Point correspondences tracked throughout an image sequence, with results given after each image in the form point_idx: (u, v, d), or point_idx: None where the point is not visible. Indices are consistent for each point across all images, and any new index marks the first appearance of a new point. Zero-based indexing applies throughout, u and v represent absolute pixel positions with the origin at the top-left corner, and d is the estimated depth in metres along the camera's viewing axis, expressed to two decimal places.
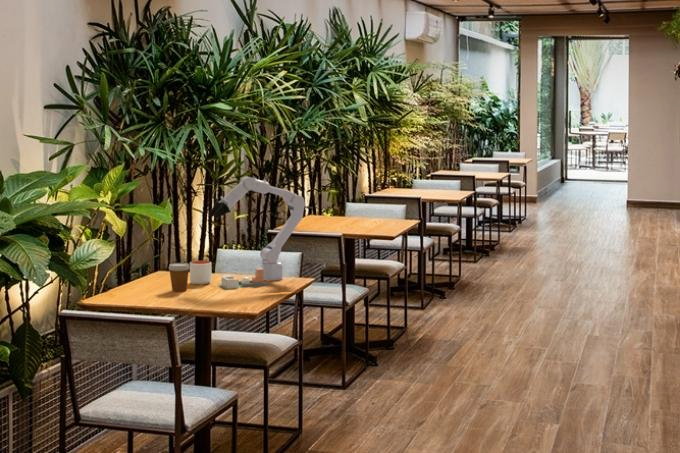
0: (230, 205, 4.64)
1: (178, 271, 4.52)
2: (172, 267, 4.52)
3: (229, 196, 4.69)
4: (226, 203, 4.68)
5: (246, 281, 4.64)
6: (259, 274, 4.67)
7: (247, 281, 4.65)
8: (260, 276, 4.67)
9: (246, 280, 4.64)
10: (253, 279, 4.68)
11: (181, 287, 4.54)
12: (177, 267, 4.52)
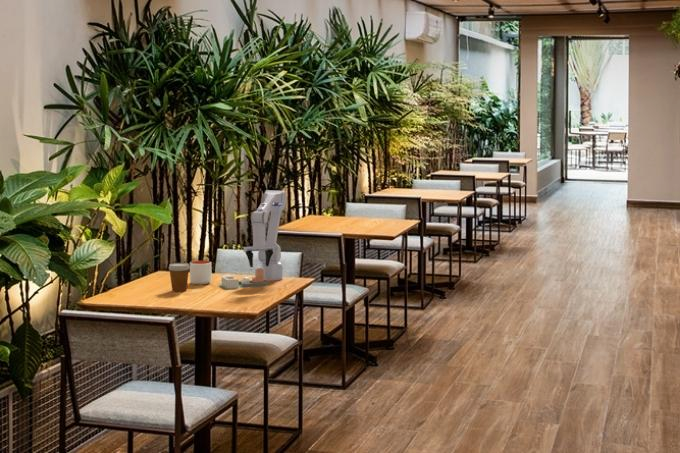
0: None
1: (178, 271, 4.52)
2: (172, 267, 4.52)
3: (264, 241, 4.66)
4: (265, 248, 4.67)
5: (246, 281, 4.64)
6: (259, 274, 4.67)
7: (247, 281, 4.65)
8: (260, 276, 4.67)
9: (246, 280, 4.64)
10: (253, 279, 4.68)
11: (181, 287, 4.54)
12: (177, 267, 4.52)
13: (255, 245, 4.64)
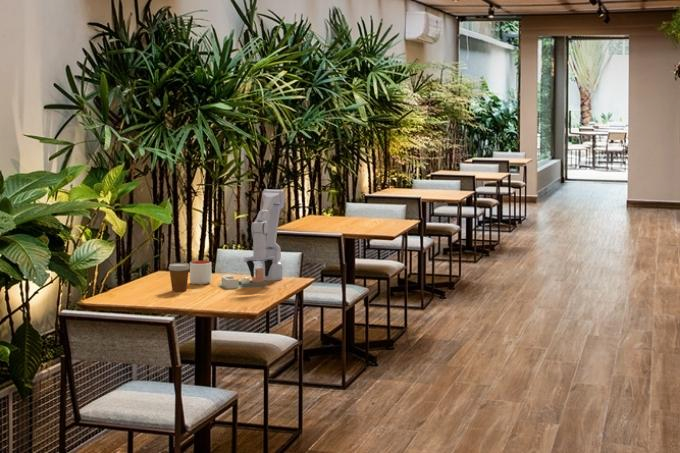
0: None
1: (178, 271, 4.52)
2: (172, 267, 4.52)
3: (265, 252, 4.66)
4: (266, 258, 4.68)
5: (246, 281, 4.64)
6: (259, 274, 4.67)
7: (247, 281, 4.65)
8: (260, 276, 4.67)
9: (246, 280, 4.64)
10: (253, 279, 4.68)
11: (181, 287, 4.54)
12: (177, 267, 4.52)
13: (255, 255, 4.65)
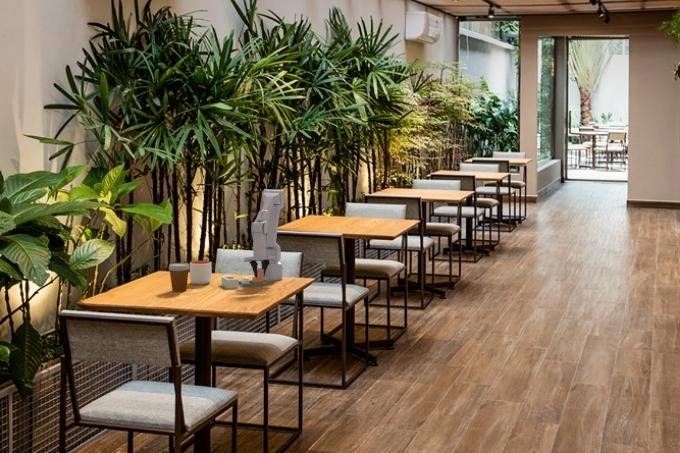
0: None
1: (178, 271, 4.52)
2: (172, 267, 4.52)
3: (265, 252, 4.66)
4: (266, 258, 4.68)
5: (246, 281, 4.64)
6: (259, 274, 4.67)
7: (247, 281, 4.65)
8: (260, 276, 4.67)
9: (246, 280, 4.64)
10: (253, 279, 4.68)
11: (181, 287, 4.54)
12: (177, 267, 4.52)
13: (255, 255, 4.65)
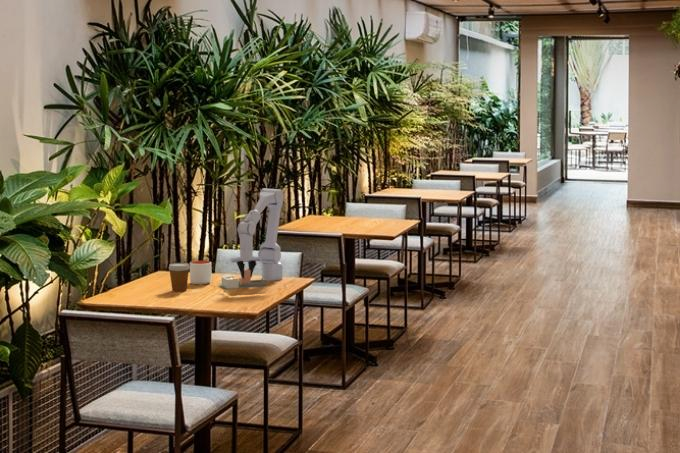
0: None
1: (178, 271, 4.52)
2: (172, 267, 4.52)
3: (251, 252, 4.64)
4: (253, 259, 4.66)
5: None
6: (246, 275, 4.64)
7: None
8: (247, 277, 4.65)
9: None
10: (240, 280, 4.66)
11: (181, 287, 4.54)
12: (177, 267, 4.52)
13: (242, 256, 4.63)
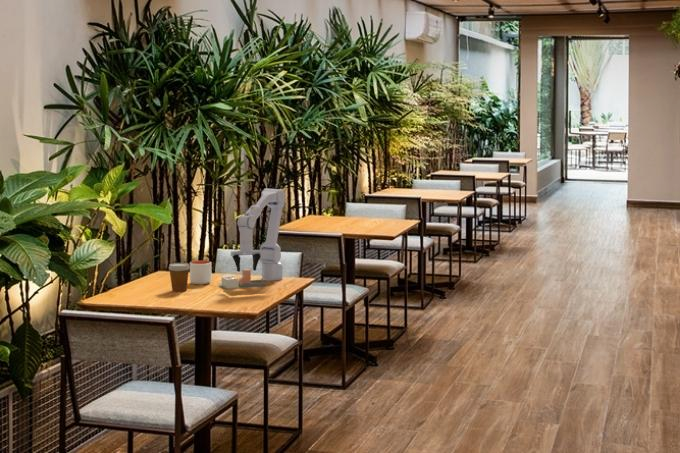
0: None
1: (178, 271, 4.52)
2: (172, 267, 4.52)
3: (251, 246, 4.63)
4: (253, 252, 4.65)
5: None
6: (246, 275, 4.64)
7: None
8: (247, 277, 4.65)
9: None
10: (240, 280, 4.66)
11: (181, 287, 4.54)
12: (177, 267, 4.52)
13: (242, 249, 4.62)
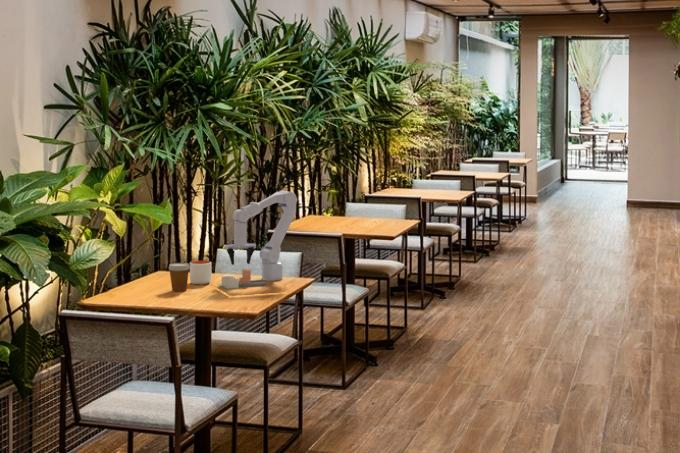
0: None
1: (178, 271, 4.52)
2: (172, 267, 4.52)
3: (245, 239, 4.72)
4: (247, 246, 4.74)
5: None
6: (246, 275, 4.64)
7: None
8: (247, 277, 4.65)
9: None
10: (240, 280, 4.66)
11: (181, 287, 4.54)
12: (177, 267, 4.52)
13: (236, 243, 4.71)
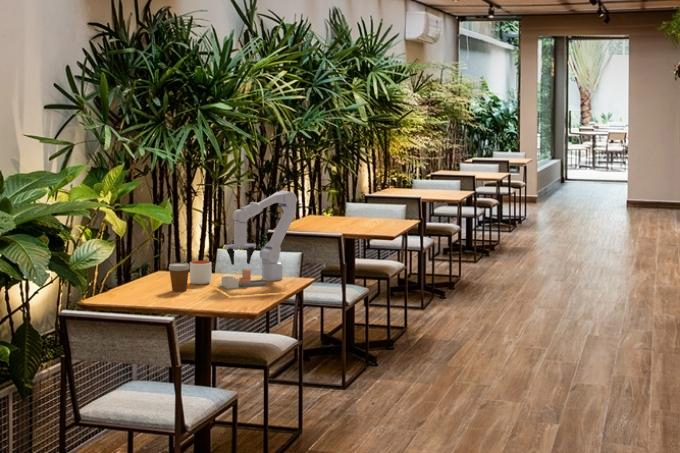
0: None
1: (178, 271, 4.52)
2: (172, 267, 4.52)
3: (245, 239, 4.72)
4: (247, 246, 4.74)
5: None
6: (246, 275, 4.64)
7: None
8: (247, 277, 4.65)
9: None
10: (240, 280, 4.66)
11: (181, 287, 4.54)
12: (177, 267, 4.52)
13: (236, 243, 4.71)
